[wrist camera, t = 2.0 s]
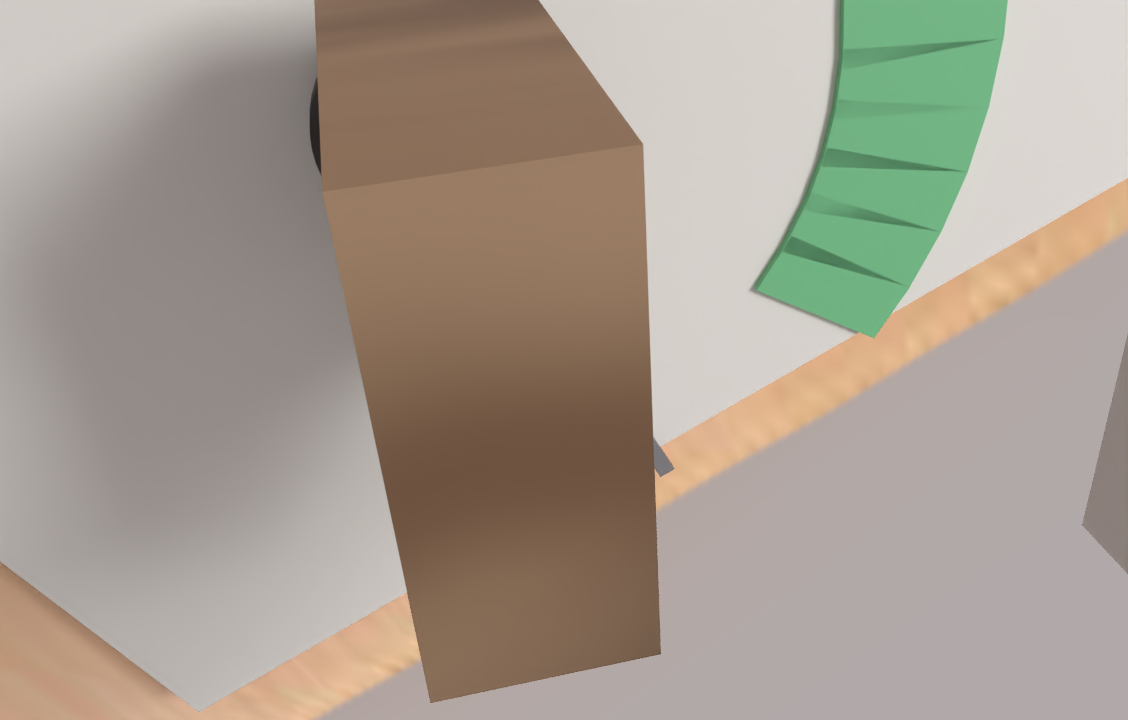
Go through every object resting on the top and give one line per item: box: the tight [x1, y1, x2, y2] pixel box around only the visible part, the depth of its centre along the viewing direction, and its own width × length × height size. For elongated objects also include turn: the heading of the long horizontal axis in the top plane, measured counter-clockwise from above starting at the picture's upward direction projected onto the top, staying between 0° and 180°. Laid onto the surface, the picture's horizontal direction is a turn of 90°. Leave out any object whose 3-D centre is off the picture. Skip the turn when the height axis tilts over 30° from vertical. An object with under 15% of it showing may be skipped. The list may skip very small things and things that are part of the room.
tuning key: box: [310, 0, 661, 703], centre depth 18 cm, size 14×4×11 cm, turn 4°
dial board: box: [0, 0, 1128, 712], centre depth 22 cm, size 22×28×2 cm
